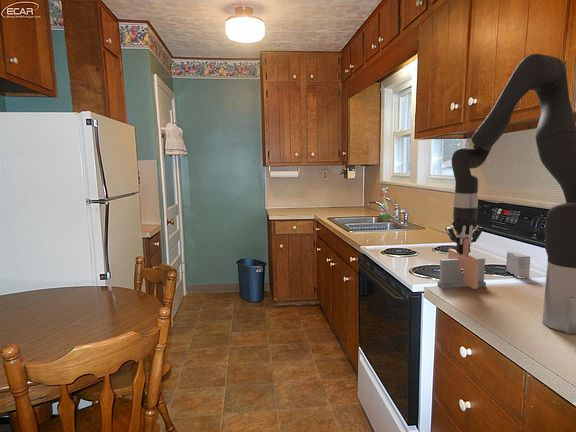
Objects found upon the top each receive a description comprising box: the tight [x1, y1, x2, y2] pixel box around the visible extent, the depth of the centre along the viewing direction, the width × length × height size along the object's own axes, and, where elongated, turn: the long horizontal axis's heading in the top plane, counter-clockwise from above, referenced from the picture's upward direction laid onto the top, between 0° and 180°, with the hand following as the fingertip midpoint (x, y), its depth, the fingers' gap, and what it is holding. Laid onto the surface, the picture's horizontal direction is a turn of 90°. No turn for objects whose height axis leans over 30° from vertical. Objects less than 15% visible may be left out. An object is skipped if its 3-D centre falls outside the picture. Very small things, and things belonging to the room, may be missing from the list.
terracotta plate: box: [447, 237, 479, 289], centre depth 126 cm, size 16×2×16 cm, turn 6°
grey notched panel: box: [437, 257, 487, 290], centre depth 127 cm, size 16×4×10 cm, turn 96°
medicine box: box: [505, 251, 531, 278], centre depth 138 cm, size 8×4×9 cm, turn 179°
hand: (463, 253), depth 126 cm, fingers closed on terracotta plate, 1 cm apart
